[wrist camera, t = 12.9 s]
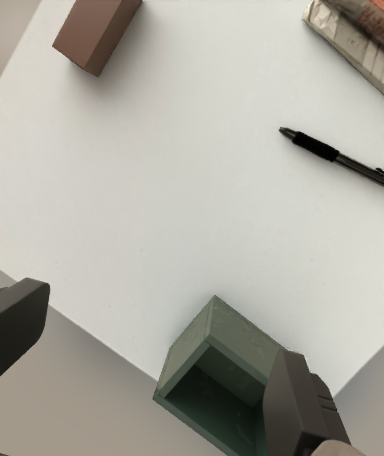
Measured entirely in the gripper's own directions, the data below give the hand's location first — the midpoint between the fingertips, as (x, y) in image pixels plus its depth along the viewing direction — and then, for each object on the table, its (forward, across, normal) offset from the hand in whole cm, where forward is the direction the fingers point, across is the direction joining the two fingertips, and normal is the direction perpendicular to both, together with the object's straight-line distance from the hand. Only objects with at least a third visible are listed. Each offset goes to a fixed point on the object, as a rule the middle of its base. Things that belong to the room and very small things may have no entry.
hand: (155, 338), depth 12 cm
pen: (+22, -11, -8) cm, 26 cm away
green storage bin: (+21, -6, +12) cm, 25 cm away
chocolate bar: (+21, +13, -14) cm, 29 cm away
